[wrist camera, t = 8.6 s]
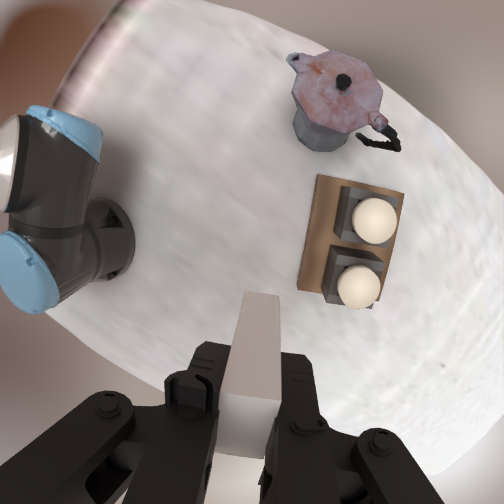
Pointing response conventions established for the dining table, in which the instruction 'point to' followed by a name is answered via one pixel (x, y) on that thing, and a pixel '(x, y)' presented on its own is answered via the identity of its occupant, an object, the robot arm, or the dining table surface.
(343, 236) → the mount
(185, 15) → the dining table surface
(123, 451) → the robot arm
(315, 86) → the moka pot
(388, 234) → the plunger near
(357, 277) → the plunger far
